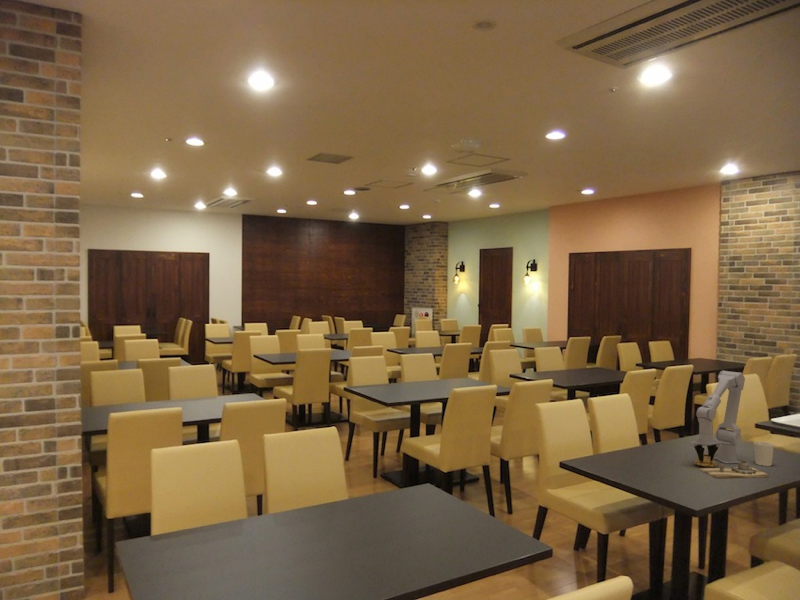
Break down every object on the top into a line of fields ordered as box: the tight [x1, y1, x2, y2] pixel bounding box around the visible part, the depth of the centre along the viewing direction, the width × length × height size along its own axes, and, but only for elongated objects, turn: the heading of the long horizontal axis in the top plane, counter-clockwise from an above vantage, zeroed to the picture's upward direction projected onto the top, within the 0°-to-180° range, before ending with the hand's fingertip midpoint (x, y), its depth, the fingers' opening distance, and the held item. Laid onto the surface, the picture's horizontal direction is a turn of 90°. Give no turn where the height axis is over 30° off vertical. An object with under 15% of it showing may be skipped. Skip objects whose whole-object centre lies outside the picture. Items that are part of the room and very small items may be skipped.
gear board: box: [699, 459, 770, 479], centre depth 265 cm, size 12×25×6 cm, turn 95°
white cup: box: [753, 441, 774, 467], centre depth 280 cm, size 8×8×10 cm
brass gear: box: [693, 453, 718, 468], centre depth 277 cm, size 10×10×4 cm
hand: (705, 460), depth 277 cm, fingers closed on brass gear, 4 cm apart
